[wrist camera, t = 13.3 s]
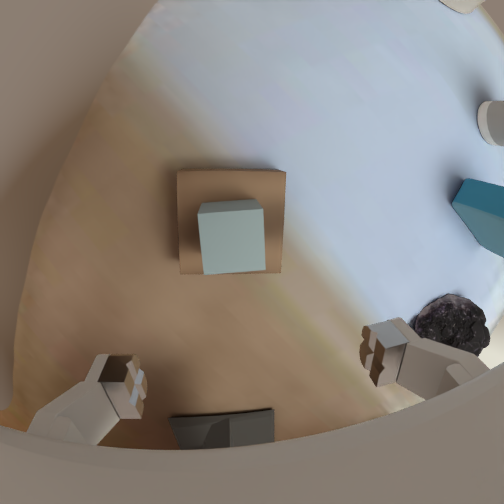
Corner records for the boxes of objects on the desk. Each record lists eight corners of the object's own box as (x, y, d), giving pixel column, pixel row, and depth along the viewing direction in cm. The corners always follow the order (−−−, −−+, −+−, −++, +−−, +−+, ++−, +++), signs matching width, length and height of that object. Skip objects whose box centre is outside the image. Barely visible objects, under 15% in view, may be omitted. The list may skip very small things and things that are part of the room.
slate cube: (201, 202, 27) (197, 214, 23) (256, 199, 28) (263, 208, 23) (206, 254, 29) (204, 274, 24) (258, 250, 29) (265, 269, 25)
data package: (493, 224, 36) (547, 248, 25) (481, 247, 37) (534, 275, 26) (461, 176, 33) (526, 191, 22) (447, 201, 34) (511, 223, 22)
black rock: (386, 355, 42) (416, 400, 33) (431, 282, 37) (474, 322, 28) (434, 356, 45) (462, 392, 37) (473, 294, 41) (509, 327, 32)
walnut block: (181, 169, 30) (176, 171, 26) (277, 169, 31) (286, 172, 27) (184, 260, 33) (180, 274, 29) (273, 259, 34) (280, 273, 30)
